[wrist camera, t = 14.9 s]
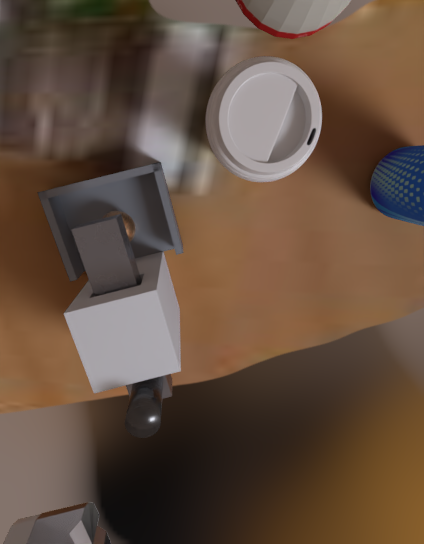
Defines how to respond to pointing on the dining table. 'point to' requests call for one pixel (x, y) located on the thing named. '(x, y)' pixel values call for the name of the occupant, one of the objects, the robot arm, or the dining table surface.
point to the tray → (114, 197)
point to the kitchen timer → (292, 15)
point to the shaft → (113, 277)
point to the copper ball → (125, 222)
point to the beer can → (400, 185)
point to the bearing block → (128, 329)
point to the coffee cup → (263, 119)
